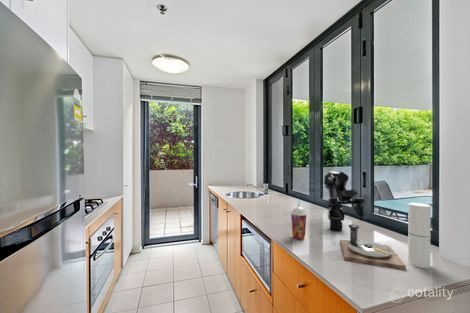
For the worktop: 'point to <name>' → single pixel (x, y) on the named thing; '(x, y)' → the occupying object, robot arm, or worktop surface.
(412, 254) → the cylindrical container
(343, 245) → the board
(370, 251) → the dial
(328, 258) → the worktop surface
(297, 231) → the smoothie
